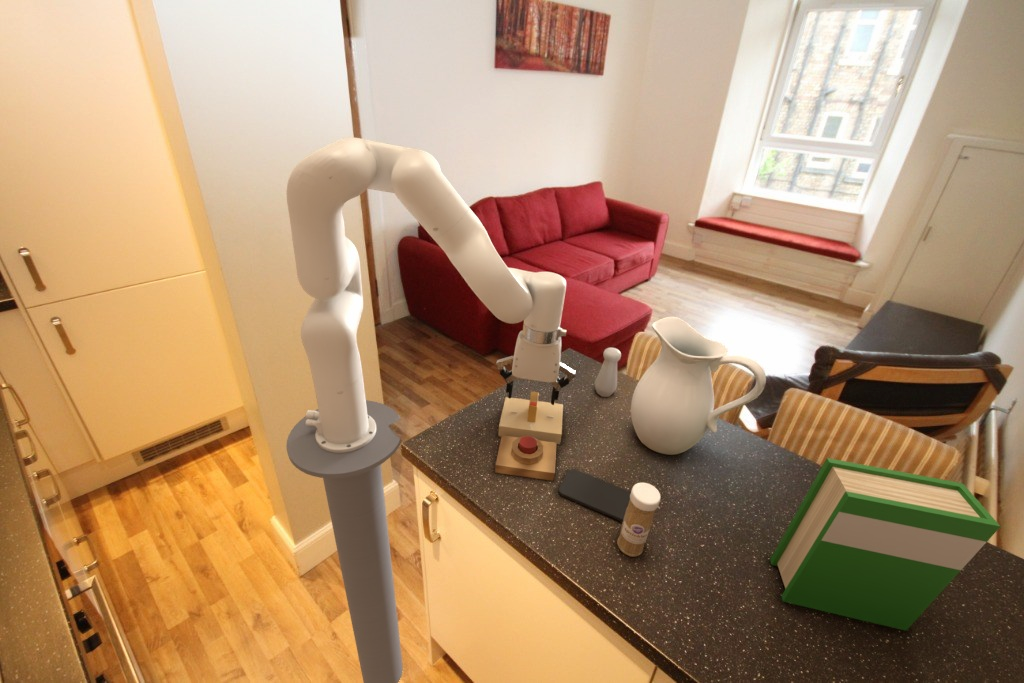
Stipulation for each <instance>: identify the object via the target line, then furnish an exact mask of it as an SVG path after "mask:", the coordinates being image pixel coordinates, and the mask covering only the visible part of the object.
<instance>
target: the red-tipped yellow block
mask: <svg viewBox="0 0 1024 683" xmlns="http://www.w3.org/2000/svg"><path fill="white" fill-rule="evenodd" d="M539 394H540V393H539V391H530V397H529V400H530V402H529V410H528V420H527V421H528V422H535V420H536V412H537V404H538V401H539Z"/></svg>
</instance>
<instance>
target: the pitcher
mask: <svg viewBox="0 0 1024 683" xmlns="http://www.w3.org/2000/svg"><path fill="white" fill-rule="evenodd" d="M651 328H652V329H653V331H654V332H655V334H656V335H657V337H658V339H659V341H660V346H661V347H660V352H659V354H658V356H657V357H656V358H655V360H654V361H653V362H652V363H651V364H650V366H648V368H647V369H646V370H645V372H644V373H643V375H642V376H641V377H640V378H639V380H638V383H637V384H636V386H635V388H634V391H633V394H632V397H631V402H630V417H631V423H632V426H633V429H634V432H635V434H636V436H637V438H638V439H639V441H640V442H641V443H642V444H643V445H644V446H645V447H647V448H648V449H650V450H651V451H654V452H656V453H659V454H662V455H670V456H674V455H679V454H682V453H685V452H686V451H688V450H689V449H691V448H692V447H694V446H695V445H696V444H698V443H699V442H700V441H701V440H702V439H703V438H704V436H705V434H706V433H707V431H708V430H709V431H710V432H712V433H713V434H716V433H717V432H718V427H717V419H718V418H719V417H720V416H722V415H723V414H725V413H728V412H730V411H733V410H735V409H737V408H740V407H742V406H745V405H747V404H749V403H751V402H753V401H754V400H756V399H758V397H759V396H760V395H761V394H762V393H763V391H764V389H765V387H766V384H767V375H766V372H765V370H764V368H763V366H762V365H761V363H759V362H758V361H757V360H756V359H754V358H752V357H750V356H747V355H745V354H728V352H729V349H728V347H727V345H726V344H724V343H722V342H720V341H718V340H713V339H710V338H708V337H707V336H704V335H702V333H700V332H699V331H697V330H696V329H695V328H694V327H693V326H691V325H690V324H689V323H688V322H686V321H685V320H683V319H682V318H680V317H677V316H667V317H663V318H661V319H658V320H656V321H654V322H653V323H652V324H651ZM726 364H734V365H735V364H736V365H739V366H742V367H743V368H744V367H745V368H746V369H747V370H749V371H750V372H751V373H752V375H753V376H754V378H755V385H754V386H753V388H752V389H751V390H750V391H749V392H748V393H746V394H745V395H743V396H741V397H739V398H737V399H735V400H733V401H730V402H728V403H725V404H724V405H721V406H719V407H717V408H715V395H714V394H715V393H714V385H713V377H712V373H715V372H717V371H718V370H719V368H720V367H721V365H726ZM714 408H715V409H714Z"/></svg>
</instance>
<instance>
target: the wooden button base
mask: <svg viewBox="0 0 1024 683" xmlns="http://www.w3.org/2000/svg"><path fill="white" fill-rule="evenodd" d="M523 437H525V436H523ZM521 438H522V437H519V438H518V437H511V436H503V435H502V437H501V436H500V442H499V446H498V451H497V457H496V460H495V464H494V465H495V467H494V473H496V474H503V475H510V476H517V477H523V478H529V479H530V478H531V479H537V480H545V481H552V482H554V480H555V474H556V458H557V444H556V443H555V442H547V441H540V440H538V439H536V438H535V439H536V441H537V447H536V451H535V452H534V453H533V454H524V453H522V452H521V451H520V450H519V442H520V439H521ZM533 438H534V437H533Z"/></svg>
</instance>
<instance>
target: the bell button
mask: <svg viewBox="0 0 1024 683" xmlns="http://www.w3.org/2000/svg"><path fill="white" fill-rule="evenodd" d="M536 447H537V441H536V439H535V438H533V437H530V436H525V437H522V438H521V439H520V442H519V450H520V451H521V452H522V453H524V454H533V453H534V452H535V451H536Z"/></svg>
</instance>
